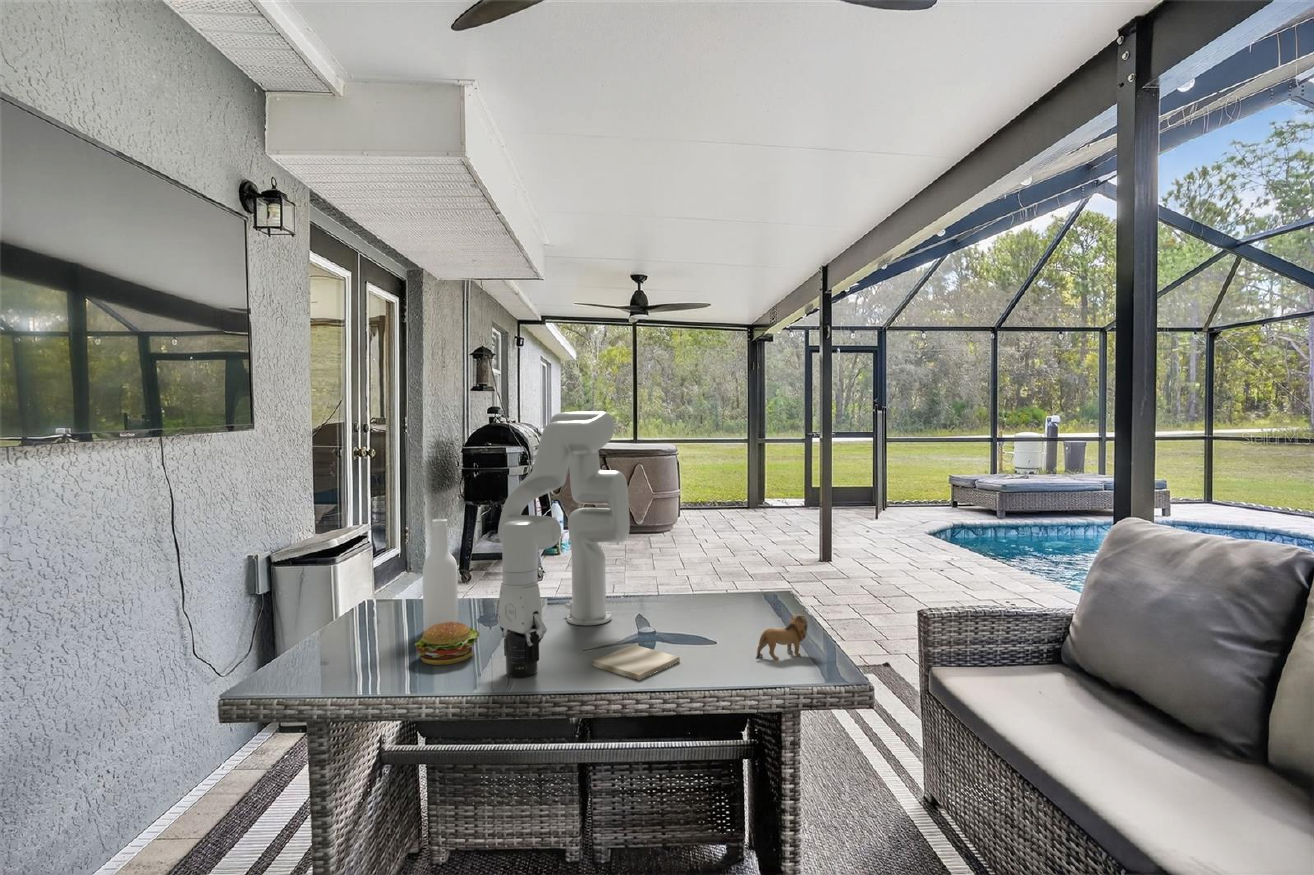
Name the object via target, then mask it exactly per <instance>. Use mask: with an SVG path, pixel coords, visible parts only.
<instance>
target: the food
mask: <svg viewBox="0 0 1314 875" xmlns="http://www.w3.org/2000/svg"><path fill="white" fill-rule="evenodd" d="M479 636H480V632H479V631H478V630H476V629H473V628H471V627H469V626H467V624H465V623H463V622H459V621H458V622H444V623H440V624H436V625H433V626H431V627H430V628H428V629H427V630H426V631H424V632H423V633H422V637H421V638H419V640H418V641H417V642H415V643H414V646H416V649H417V651H416V654H417V656H419V657H420V659H421V661H422V662H423V663H424V664H428V665H433V666H445V665H451V664H457V663H460V662H464V661H466V660H468V659H469V658H470V657H472V655H473V653H474V651H473V647H474V646H475V644H476V643H477V640H478V639H479Z"/></svg>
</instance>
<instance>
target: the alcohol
mask: <svg viewBox="0 0 1314 875" xmlns="http://www.w3.org/2000/svg"><path fill="white" fill-rule="evenodd" d="M431 522H432V524H431V527H432V528H431V529H432V530H431V544H430V552H429V554H428V557H426V558H425V560H424V562H423V566H422V607H423V608H422V609H423V610H422V611H423V612H422V613H423V615H422V616H423V619H422V620H423V621H422V622H423V631H424V632H425V631H426V630H427V629H428V628H430V627H431V626H433V625H436V624H440V623H444V622H459V613H458V612H459V610H458V609H459V606H458V605H459V603H458V602H459V601H458V599H459V598H458V592H459V591H458V563H457V560H456V559H455V557H454V556H453V555H452V553H451V550H450V544H449V543H450V542H449V534H448V532H449V531H448V525H449V524H448V519H447V518H435V519H432V520H431Z"/></svg>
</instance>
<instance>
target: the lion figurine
mask: <svg viewBox="0 0 1314 875" xmlns="http://www.w3.org/2000/svg"><path fill="white" fill-rule="evenodd" d="M808 626H809V623H808V619H807V618H806V615H803V614H798V613H796V614H795V615H793V616H792V617H791V621H790V622H789V623H788V625H787V626H786V627H785V628H780V629H778V628H767V629H765V630H763V632H762V633H761V635H760V637H759V642H758V646H757V650H756V651H757V652H756V657H755V659H756V660H759V658H762V657H763V653H761V651H762V650H763V649H765V647H766V646H767V645H768V647H769V651H768V652H769V653H768V654H769V655H770V657H771V658H772V660H773V661H779V660H780V659H779V657H778V656H776V655H775V648H776V646H777V644H778V645H781V646H786V647H787V650H786V653H787V654H790V655H791V654H793V653H794V654H795V657H798V658H801V656H802V655H801V653H799V652H800V644H801V642H803V641H804V640H805V639H806V636H807V632H808V628H809V627H808ZM792 645H793V646H794V652H793V649H792Z"/></svg>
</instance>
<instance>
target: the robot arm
mask: <svg viewBox="0 0 1314 875" xmlns="http://www.w3.org/2000/svg"><path fill="white" fill-rule="evenodd" d="M614 433H615V421H614V419H613V416H612V415H611V414H610V413H608V412H607V411H599V410H598V411H597V410H596V411H593V410H592V411H564V412H558V413H555V414H554V415H553V416H552V417H551V419H550V423H548V424H546V425H545V427H544V428H543V430H542V432H541V437H540V441H539V444H538V448H537V452H536V455H535V459H534V463H533V467H532V471H531V472H530V474H529V475H528V476H527V477H525V478H524V479H523V480H522V481H521V482H519V484H517V486H515V488H513V490H512V491H511V492H510V493H509V495H508V496H507V498H506V500H505V502H504V504H503V508H502V511H501V514H500V518H499V522H498V529H497V536H498V539H499V542H500V543H501V545H502V549H501V550H502V553H501V554H502V582H501V584H500V589H499V595H498V608H497V609H498V610H497V611H498V612H497V613H498V615H497V616H496V620H497V622H498V625H499V628H500V630H501V632H502V633H501V635H502V638H503V644H504V645H503V646H504V647H503V650H504V653H503V654H504V657H506V649H505V636H506V634H507V632H508V631H509V630H510V631H513V632H517V633H520V634H525V637H526V640H527V644H528V645H526V664H531V663H534V662H536V661H537V662H538V661H539V660H540V643H541V642H542V640H543V638H544V636H545V634H546V632H548V629H547V627H546V625H545V624H544V622H543V616H542V615H543V612H542V611H543V610H542V600H541V592H540V586H539V584H538V582H539V579H538V578H539V577H538V576H539V575H538V572H539V571H538V570H539V569H538V566H539V565H538V551H539V550H547V549H551V548H553V547H554V546H556V545H557V544H558V542H559V541H560V539H561V536H562V526H561V524H560V522H559V521H558V520H557V519H556V517H553V516H549V515H529V514H528V515H525V514H522V513H523V511H524V509H525V508H526V507H527V506H528V505H529V504H530V503H531V502H533V501H535V500H536V499H538V498H540V497H543V496H544V495H547V494H548V493H551V492H553V491H555V490H558V489H559V488H561V487H562V486H564V485H565V483H566V481H567V477H568V475H569V482H570V493H571V497H572V499H573V501H574V502H575V503H577V504H581V505H582V504H583V505H607V506H608V507H609V508H608V507H607V508H606V507H605V508H604V507H582V508H581V507H580V508H576V509H575V510H573V511H571V512H570V514H569V516H568V519H567V530H568V535H569V540H570V541H569V542H570V550H571V551H570V552H571V599H570V600H568V602H567V603H565V605H564V608H565V609H567V610H569V614H567V615H566V621H567V623H569V624H572V625H575V626H597V625H602V624H605V623H609V622H610V621H611V620H612V613H611V612H610V611H607V602H606V601H607V600H606V599H607V598H606V597H607V590H606V584H607V583H606V556H605V553H604V550H603V549H602V547H601V546H600V544H599V543H623V542H625V541H626V540H627V539H628V538H629V534H630V528H631V526H630V524H631V523H630V519H631V518H630V506H629V505H630V503H629V502H630V501H629V487H628V483H627V479H626V476H625V475H624V474H623V472H621V471H619V470H615V469H614V470H611V469H610V470H607V469H606V470H604V469H601V465H600V464H601V463H600V454H599V450H601V449H602V448H603V447H605V446H606V445H607V444H608V443H609V442H610V441H611V440H612V438H613V436H614ZM568 473H569V474H568ZM531 628H532V629H531ZM530 629H531V630H530ZM532 632H533V634H534V636H533V637H532V638H531V635H530V633H532Z"/></svg>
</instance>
